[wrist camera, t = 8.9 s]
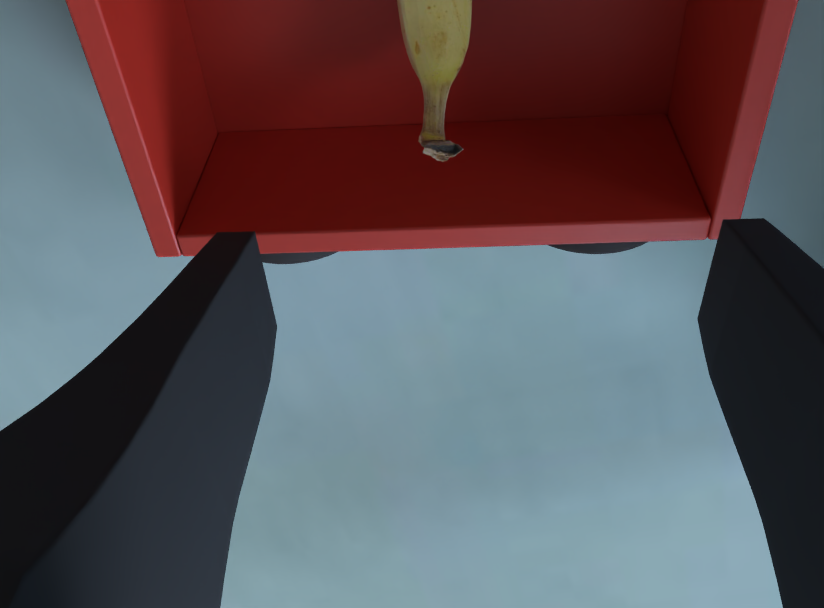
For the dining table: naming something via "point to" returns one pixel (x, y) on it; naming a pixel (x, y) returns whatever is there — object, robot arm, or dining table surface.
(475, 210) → the cart
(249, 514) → the dining table surface
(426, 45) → the banana
